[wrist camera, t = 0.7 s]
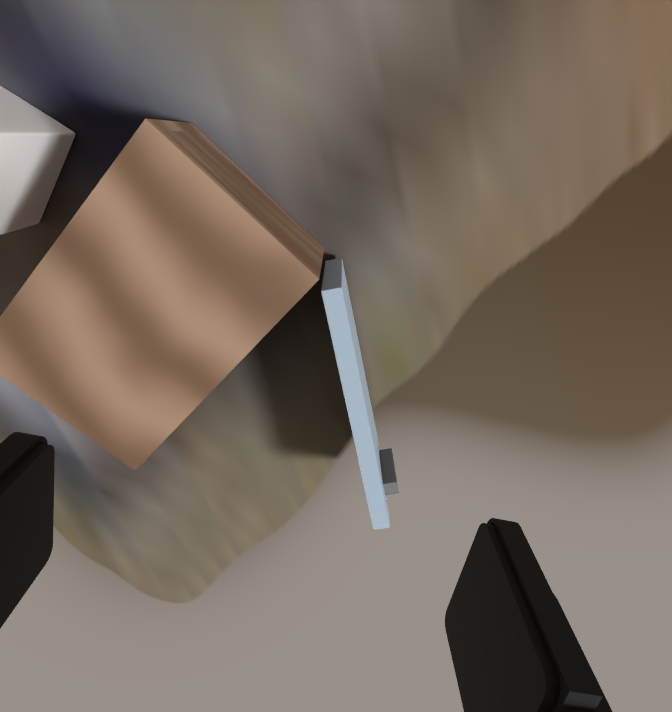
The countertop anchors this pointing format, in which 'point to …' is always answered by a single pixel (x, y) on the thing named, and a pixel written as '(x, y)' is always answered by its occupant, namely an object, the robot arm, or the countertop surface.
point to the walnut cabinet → (154, 291)
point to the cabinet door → (357, 395)
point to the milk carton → (28, 161)
